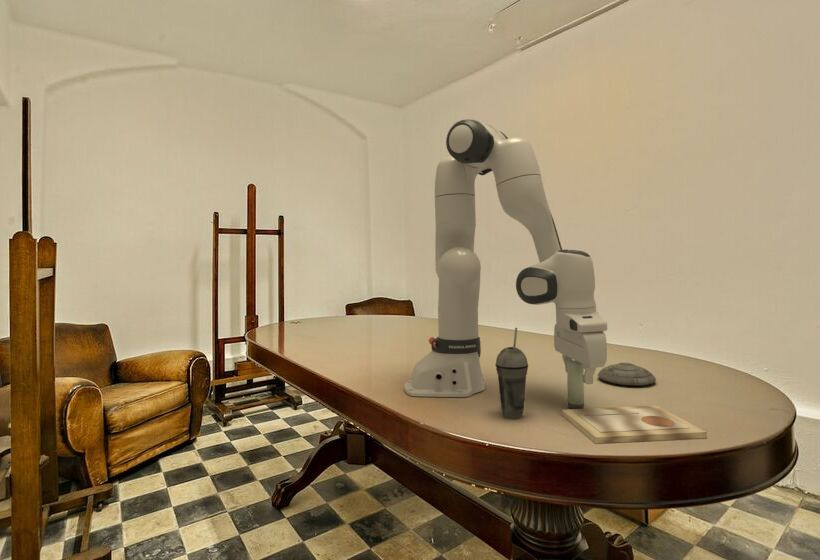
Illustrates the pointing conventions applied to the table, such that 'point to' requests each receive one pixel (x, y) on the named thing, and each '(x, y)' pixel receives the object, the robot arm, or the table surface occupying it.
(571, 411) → the sketch board
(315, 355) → the table surface
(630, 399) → the table surface
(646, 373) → the flying saucer
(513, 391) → the beverage cup
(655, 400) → the table surface
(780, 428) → the table surface
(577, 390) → the cylinder
